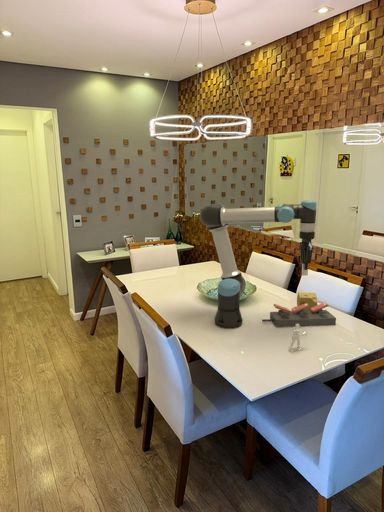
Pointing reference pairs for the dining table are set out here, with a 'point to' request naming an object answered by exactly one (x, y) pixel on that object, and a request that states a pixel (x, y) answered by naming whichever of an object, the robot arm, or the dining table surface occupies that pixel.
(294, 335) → the figurine
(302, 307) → the rocker
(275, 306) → the rocker
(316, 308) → the rocker
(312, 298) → the cheese
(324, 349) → the dining table surface
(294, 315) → the power strip
